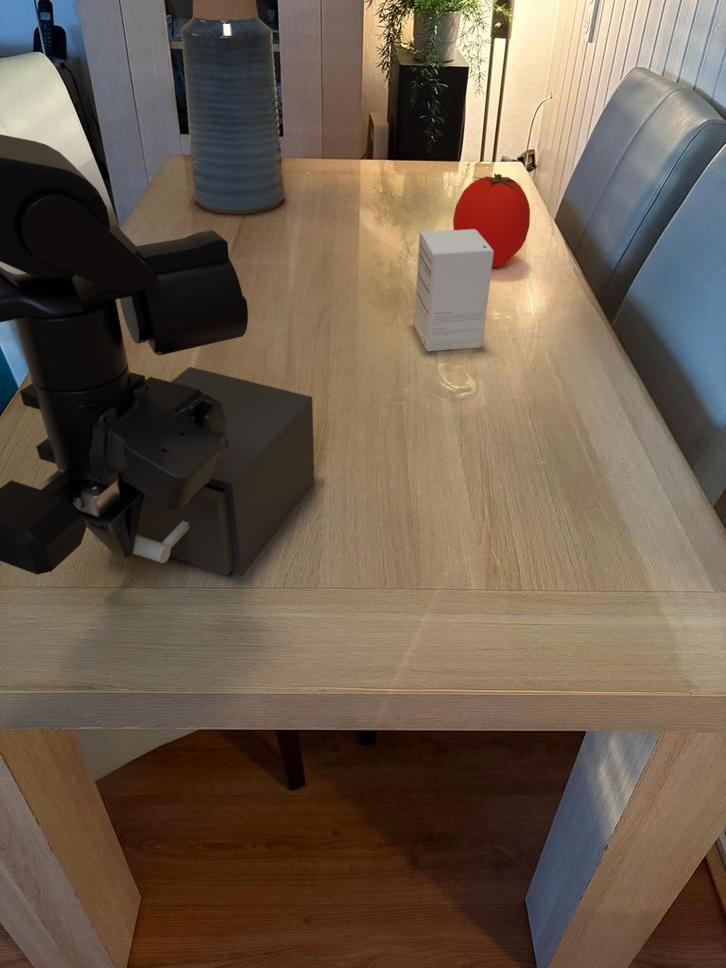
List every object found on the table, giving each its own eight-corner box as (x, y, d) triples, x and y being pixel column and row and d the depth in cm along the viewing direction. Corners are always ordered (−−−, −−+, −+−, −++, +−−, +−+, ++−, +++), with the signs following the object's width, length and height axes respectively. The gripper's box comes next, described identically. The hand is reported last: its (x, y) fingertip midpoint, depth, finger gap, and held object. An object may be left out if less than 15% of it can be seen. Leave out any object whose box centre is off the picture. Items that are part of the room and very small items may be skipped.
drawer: (198, 612, 56) (185, 535, 52) (77, 568, 60) (54, 493, 55) (297, 487, 69) (294, 416, 64) (192, 457, 72) (182, 387, 67)
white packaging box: (466, 322, 98) (477, 227, 91) (482, 349, 93) (495, 250, 85) (412, 325, 97) (418, 229, 90) (424, 352, 92) (433, 252, 84)
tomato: (496, 245, 121) (508, 159, 113) (539, 273, 112) (555, 182, 104) (433, 254, 117) (440, 166, 109) (472, 284, 108) (483, 191, 100)
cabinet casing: (242, 576, 61) (232, 484, 55) (115, 534, 65) (93, 443, 59) (314, 483, 71) (312, 396, 65) (201, 450, 74) (189, 366, 69)
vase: (179, 196, 137) (153, -8, 117) (256, 182, 145) (244, -12, 125) (221, 222, 127) (200, 2, 107) (301, 205, 135) (296, -2, 115)
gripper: (84, 487, 36) (136, 686, 46) (268, 333, 50) (279, 511, 60) (-84, 433, 40) (-3, 629, 49) (132, 303, 54) (163, 476, 63)
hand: (124, 555), depth 55 cm, fingers closed
